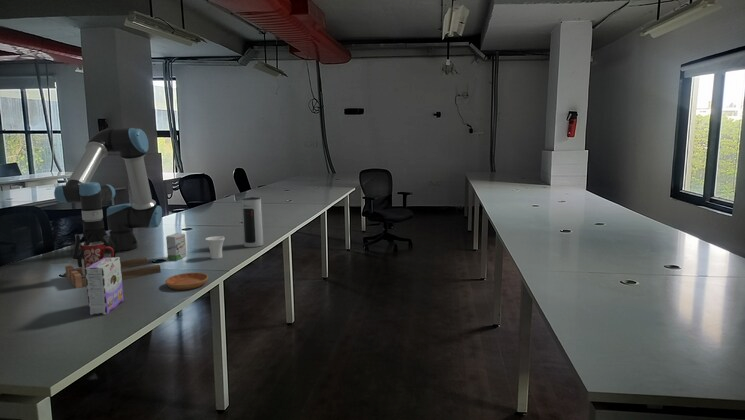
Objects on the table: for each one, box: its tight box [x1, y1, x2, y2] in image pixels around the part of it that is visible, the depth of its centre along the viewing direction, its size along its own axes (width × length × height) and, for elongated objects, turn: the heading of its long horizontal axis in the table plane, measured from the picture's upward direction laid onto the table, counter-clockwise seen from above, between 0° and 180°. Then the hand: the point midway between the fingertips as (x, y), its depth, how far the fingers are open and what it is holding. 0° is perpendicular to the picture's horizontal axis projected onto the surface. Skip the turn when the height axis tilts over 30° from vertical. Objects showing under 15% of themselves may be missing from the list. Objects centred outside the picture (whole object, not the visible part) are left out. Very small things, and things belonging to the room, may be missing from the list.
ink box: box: [165, 232, 188, 262], centre depth 232 cm, size 8×5×12 cm, turn 167°
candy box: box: [85, 256, 125, 316], centre depth 165 cm, size 14×6×16 cm, turn 5°
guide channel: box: [64, 256, 161, 289], centre depth 205 cm, size 20×32×5 cm, turn 132°
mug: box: [79, 241, 114, 277], centre depth 201 cm, size 13×9×14 cm
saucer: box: [165, 272, 209, 291], centre depth 191 cm, size 16×16×3 cm
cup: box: [204, 235, 225, 260], centre depth 233 cm, size 9×9×10 cm
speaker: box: [240, 196, 264, 248], centre depth 257 cm, size 11×10×26 cm
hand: (98, 271), depth 201 cm, fingers closed on mug, 10 cm apart
